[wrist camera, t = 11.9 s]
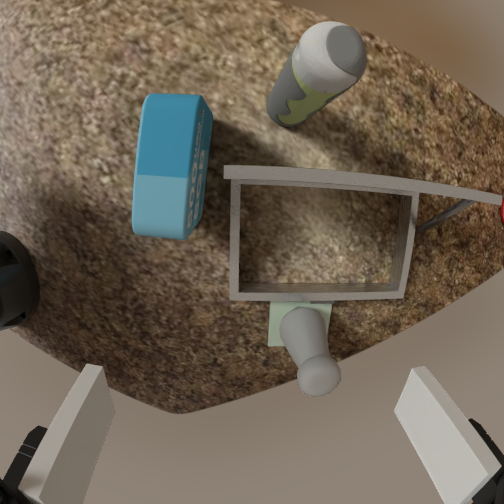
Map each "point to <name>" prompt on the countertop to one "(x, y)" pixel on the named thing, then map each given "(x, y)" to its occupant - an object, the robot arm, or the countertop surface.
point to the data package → (171, 165)
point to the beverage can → (502, 211)
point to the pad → (283, 307)
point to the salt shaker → (310, 351)
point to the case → (347, 181)
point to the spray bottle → (317, 72)
